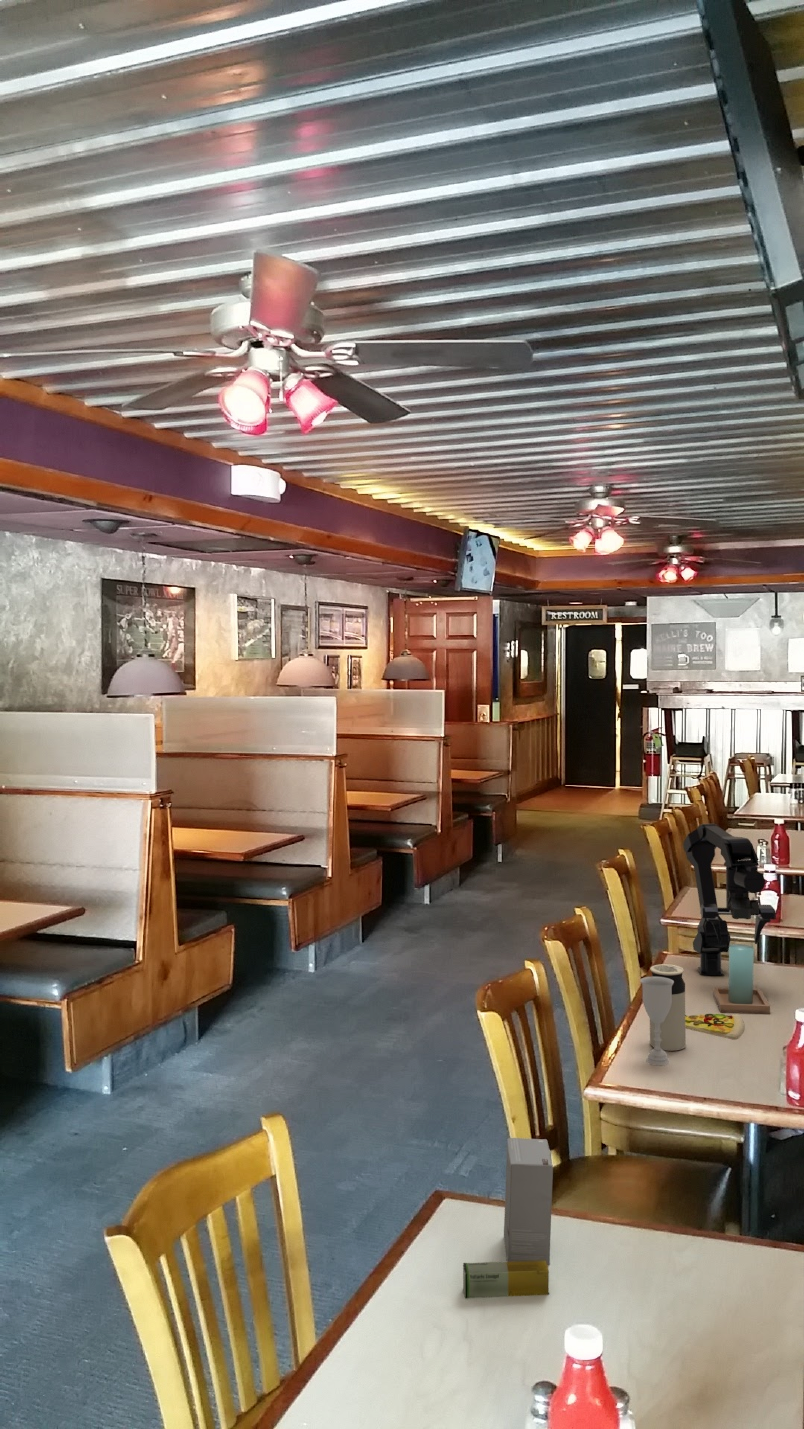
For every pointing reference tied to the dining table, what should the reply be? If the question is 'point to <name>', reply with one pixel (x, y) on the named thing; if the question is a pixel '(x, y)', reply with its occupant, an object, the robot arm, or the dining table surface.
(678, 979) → the travel mug
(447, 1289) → the dining table surface
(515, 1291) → the medication box
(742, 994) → the teal rounded cylinder
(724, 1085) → the dining table surface
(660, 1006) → the chalice
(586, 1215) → the dining table surface
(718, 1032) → the pizza slice
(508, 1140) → the skincare box
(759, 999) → the tray
